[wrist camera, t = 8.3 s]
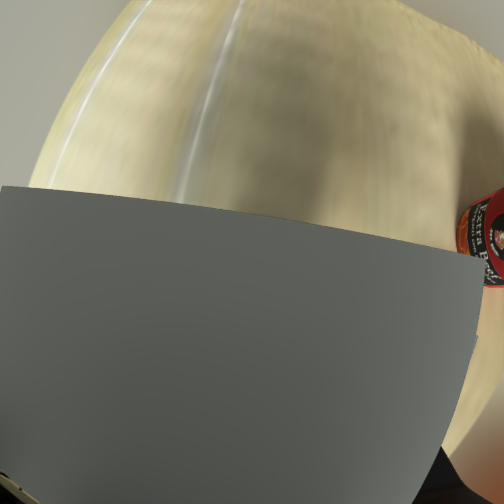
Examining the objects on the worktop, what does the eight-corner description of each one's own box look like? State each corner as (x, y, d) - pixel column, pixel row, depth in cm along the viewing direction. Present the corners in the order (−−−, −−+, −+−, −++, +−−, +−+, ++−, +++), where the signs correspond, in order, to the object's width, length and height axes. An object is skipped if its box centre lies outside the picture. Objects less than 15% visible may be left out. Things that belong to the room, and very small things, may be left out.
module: (310, 377, 15) (340, 595, 2) (199, 353, 15) (0, 469, 3) (330, 283, 15) (485, 259, 2) (216, 262, 16) (2, 185, 3)
